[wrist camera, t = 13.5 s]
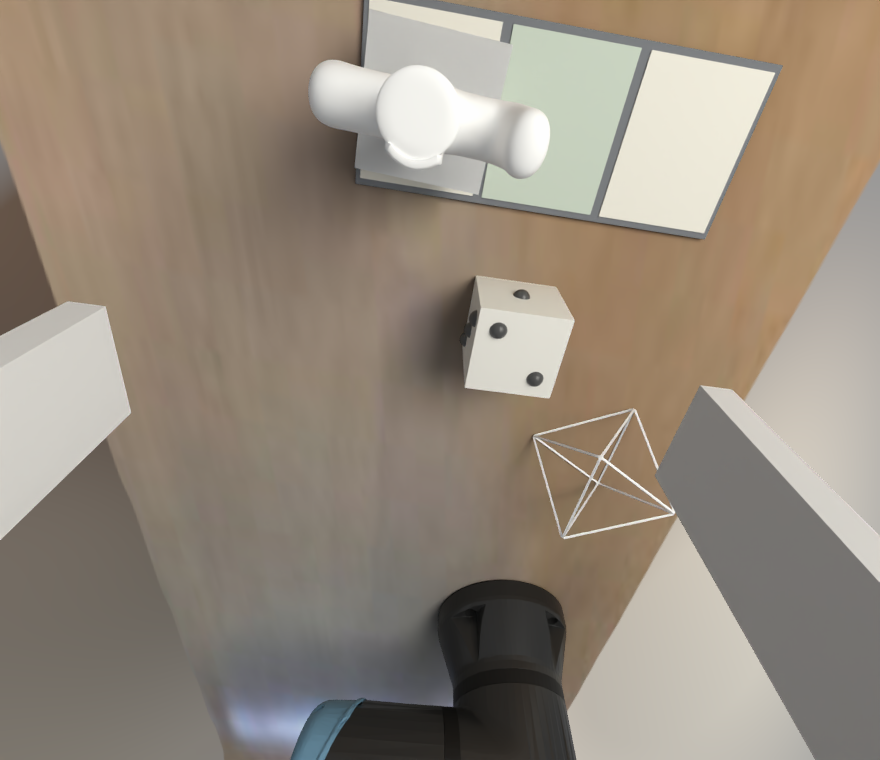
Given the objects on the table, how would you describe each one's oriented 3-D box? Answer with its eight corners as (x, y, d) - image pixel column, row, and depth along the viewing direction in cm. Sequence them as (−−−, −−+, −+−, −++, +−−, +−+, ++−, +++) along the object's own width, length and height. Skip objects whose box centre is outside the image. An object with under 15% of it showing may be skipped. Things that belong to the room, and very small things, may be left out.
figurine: (359, 13, 25) (270, -64, 13) (524, 54, 26) (594, 21, 14) (347, 155, 29) (269, 205, 17) (491, 187, 30) (523, 258, 17)
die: (535, 356, 37) (550, 402, 32) (456, 346, 37) (458, 390, 31) (557, 280, 34) (578, 316, 28) (471, 268, 34) (475, 302, 28)
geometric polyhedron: (518, 471, 44) (531, 536, 38) (547, 393, 39) (567, 453, 33) (622, 486, 45) (651, 552, 38) (663, 411, 40) (704, 473, 34)
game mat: (702, 238, 32) (705, 239, 32) (356, 182, 30) (355, 183, 30) (779, 65, 27) (784, 65, 26) (365, -13, 25) (364, -14, 25)
